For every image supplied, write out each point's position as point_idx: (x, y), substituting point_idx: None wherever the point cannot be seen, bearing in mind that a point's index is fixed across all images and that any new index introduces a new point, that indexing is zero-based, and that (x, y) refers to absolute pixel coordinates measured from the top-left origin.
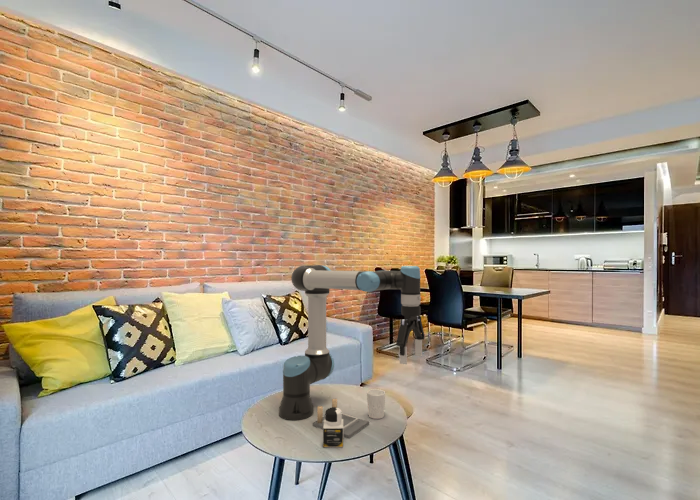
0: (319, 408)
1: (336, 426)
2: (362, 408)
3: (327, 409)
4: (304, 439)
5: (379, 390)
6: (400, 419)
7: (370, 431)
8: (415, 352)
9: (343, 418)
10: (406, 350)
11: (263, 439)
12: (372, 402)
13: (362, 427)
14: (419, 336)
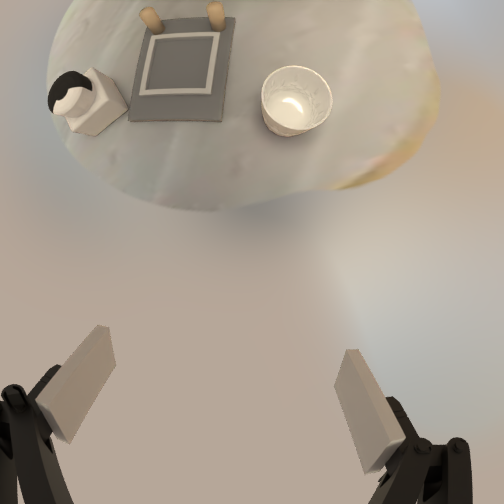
0: (140, 16)
1: (68, 118)
2: (309, 64)
3: (59, 78)
4: (93, 56)
5: (329, 99)
6: (298, 186)
7: (188, 144)
8: (352, 365)
9: (203, 56)
10: (74, 422)
11: (73, 15)
12: (261, 102)
13: (188, 119)
14: (376, 494)
